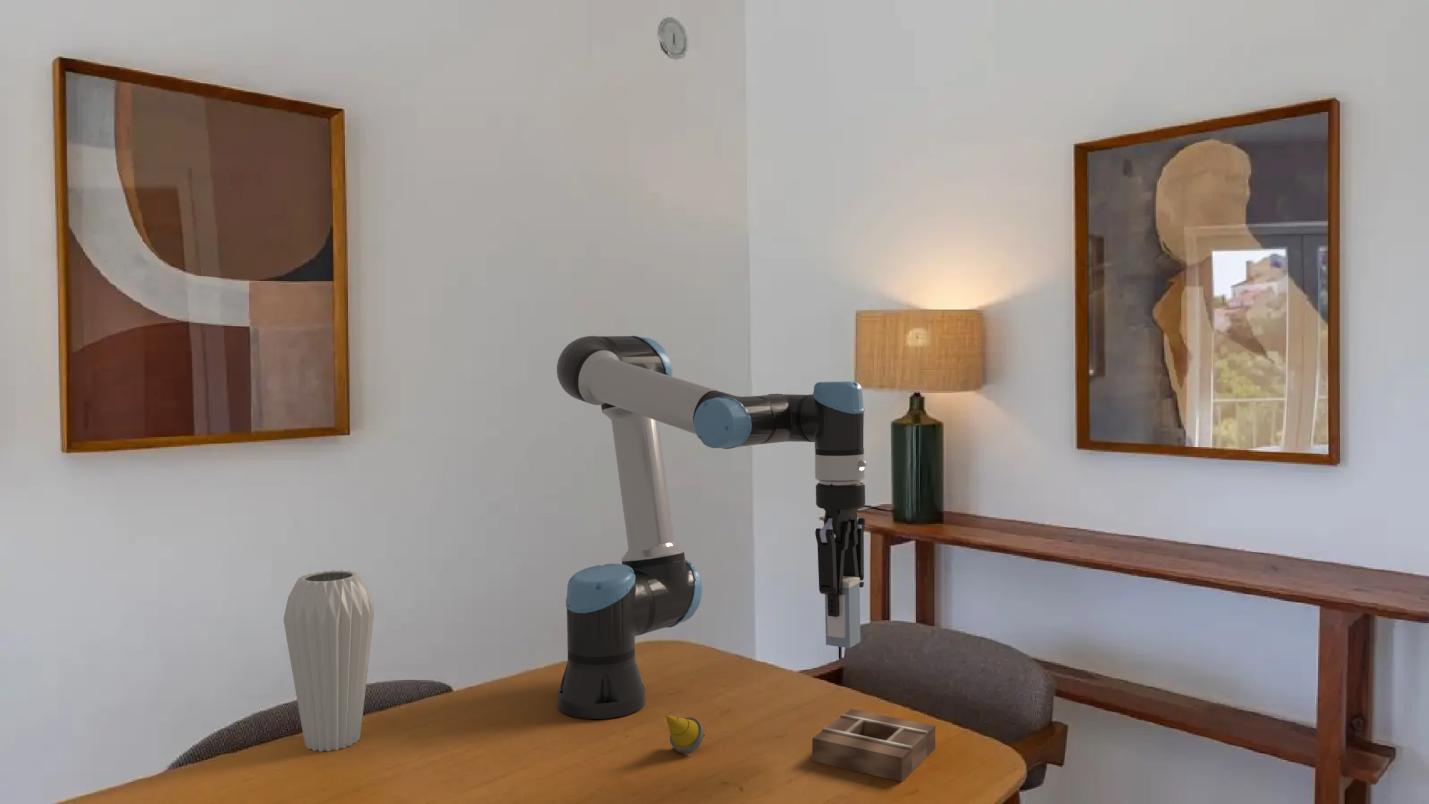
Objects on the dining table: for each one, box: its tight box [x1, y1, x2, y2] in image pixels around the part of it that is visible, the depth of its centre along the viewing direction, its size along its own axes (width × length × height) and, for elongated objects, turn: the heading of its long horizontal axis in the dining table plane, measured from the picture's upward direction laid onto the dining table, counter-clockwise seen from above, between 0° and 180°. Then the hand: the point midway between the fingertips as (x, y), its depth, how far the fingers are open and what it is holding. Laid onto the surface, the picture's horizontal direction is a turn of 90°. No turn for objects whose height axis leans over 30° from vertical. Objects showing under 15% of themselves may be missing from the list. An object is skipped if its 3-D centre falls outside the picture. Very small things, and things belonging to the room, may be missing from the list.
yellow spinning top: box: [665, 715, 706, 755], centre depth 149 cm, size 5×5×10 cm
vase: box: [283, 569, 375, 753], centre depth 154 cm, size 13×13×26 cm
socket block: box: [811, 708, 936, 783], centre depth 148 cm, size 14×14×4 cm
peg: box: [824, 576, 861, 649], centre depth 151 cm, size 4×4×10 cm
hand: (843, 632), depth 152 cm, fingers closed on peg, 4 cm apart
